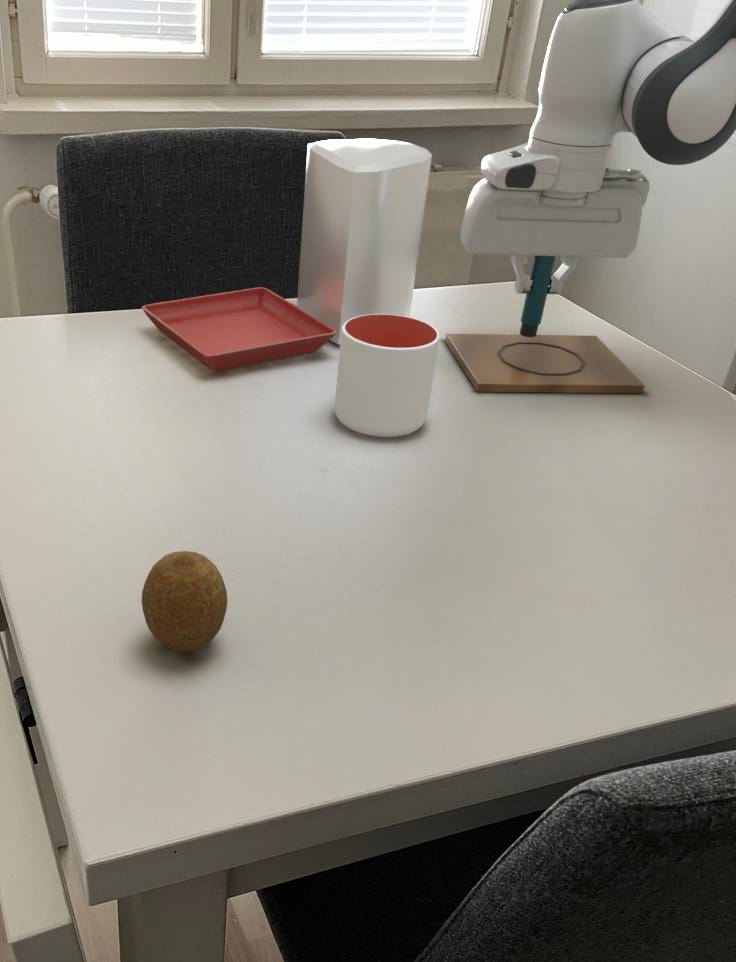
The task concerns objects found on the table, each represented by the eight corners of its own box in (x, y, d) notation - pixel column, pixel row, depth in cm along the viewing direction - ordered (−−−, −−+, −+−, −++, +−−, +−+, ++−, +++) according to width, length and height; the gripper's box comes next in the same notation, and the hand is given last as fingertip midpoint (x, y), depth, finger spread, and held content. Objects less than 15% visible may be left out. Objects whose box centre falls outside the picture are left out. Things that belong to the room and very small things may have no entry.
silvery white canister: (290, 307, 135) (302, 128, 121) (386, 300, 139) (407, 126, 125) (331, 348, 123) (349, 156, 110) (434, 339, 127) (463, 153, 114)
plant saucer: (206, 382, 113) (206, 354, 111) (139, 330, 125) (139, 303, 123) (337, 358, 121) (339, 331, 119) (262, 311, 133) (263, 286, 131)
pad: (594, 343, 129) (596, 334, 128) (642, 393, 116) (645, 384, 116) (444, 340, 127) (446, 332, 127) (476, 392, 115) (478, 383, 114)
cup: (444, 429, 106) (460, 338, 100) (372, 450, 101) (385, 355, 95) (384, 395, 113) (396, 307, 107) (314, 413, 108) (322, 322, 102)
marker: (534, 331, 122) (558, 220, 114) (540, 338, 120) (565, 226, 112) (515, 330, 122) (538, 220, 114) (521, 337, 120) (545, 225, 112)
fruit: (144, 620, 76) (141, 531, 72) (224, 620, 77) (227, 532, 72) (141, 671, 72) (138, 579, 67) (227, 671, 72) (230, 580, 67)
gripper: (642, 163, 113) (610, 285, 122) (468, 157, 111) (448, 282, 120) (665, 177, 108) (630, 303, 117) (483, 170, 106) (461, 299, 115)
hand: (536, 292), depth 118 cm, fingers closed on marker, 2 cm apart
